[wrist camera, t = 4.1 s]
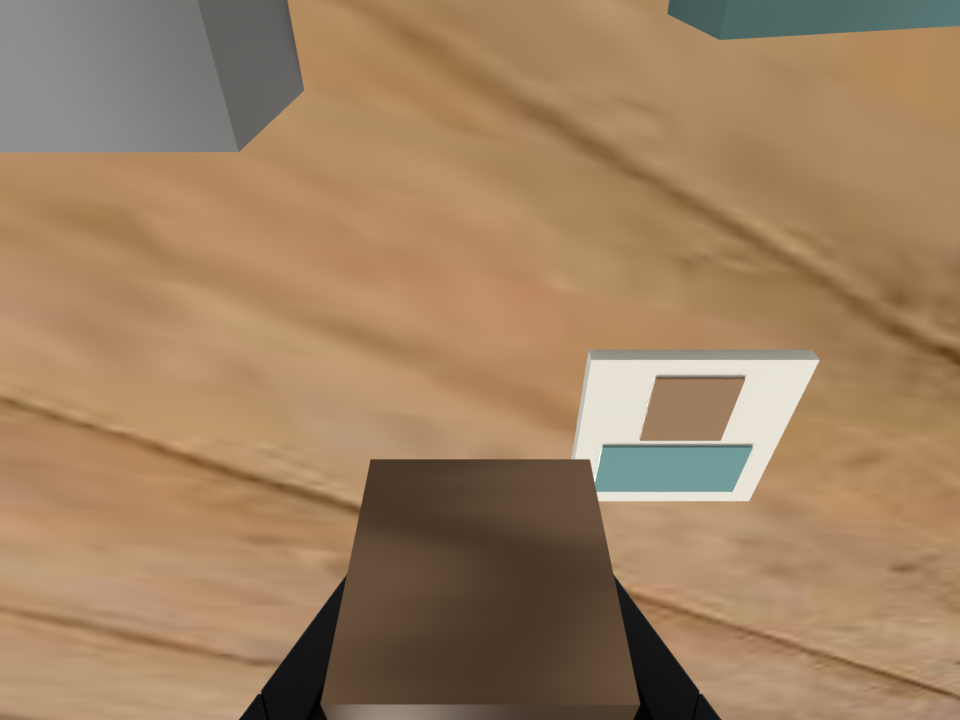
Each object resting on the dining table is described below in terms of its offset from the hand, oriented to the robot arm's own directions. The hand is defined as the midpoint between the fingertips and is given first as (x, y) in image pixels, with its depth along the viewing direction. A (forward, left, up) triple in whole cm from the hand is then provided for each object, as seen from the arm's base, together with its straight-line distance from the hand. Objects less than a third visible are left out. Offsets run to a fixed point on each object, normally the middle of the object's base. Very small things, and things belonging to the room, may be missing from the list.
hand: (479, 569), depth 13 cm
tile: (+8, -4, -8) cm, 12 cm away
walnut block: (0, 0, -1) cm, 1 cm away
